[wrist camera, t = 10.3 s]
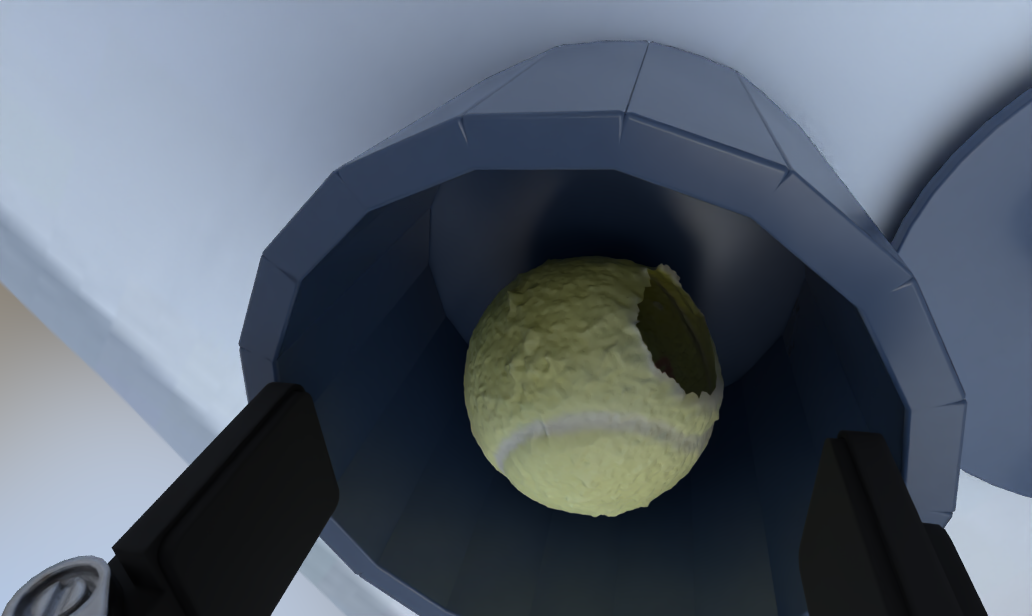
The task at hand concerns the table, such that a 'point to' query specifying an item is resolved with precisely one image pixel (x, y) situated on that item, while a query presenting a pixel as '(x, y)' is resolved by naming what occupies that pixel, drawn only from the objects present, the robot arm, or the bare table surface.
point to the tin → (620, 235)
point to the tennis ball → (593, 384)
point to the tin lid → (983, 287)
